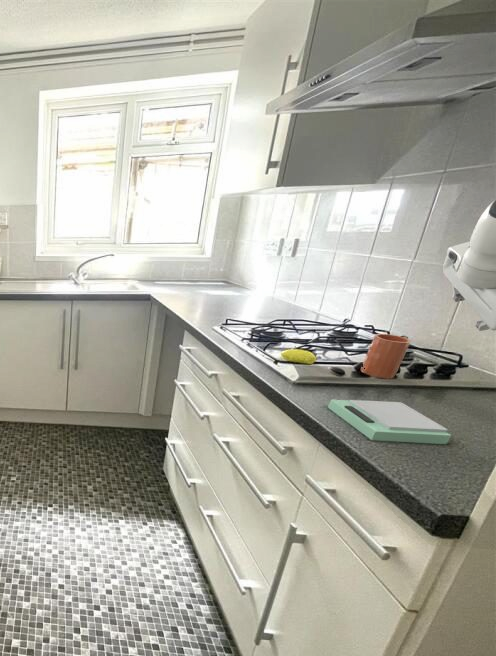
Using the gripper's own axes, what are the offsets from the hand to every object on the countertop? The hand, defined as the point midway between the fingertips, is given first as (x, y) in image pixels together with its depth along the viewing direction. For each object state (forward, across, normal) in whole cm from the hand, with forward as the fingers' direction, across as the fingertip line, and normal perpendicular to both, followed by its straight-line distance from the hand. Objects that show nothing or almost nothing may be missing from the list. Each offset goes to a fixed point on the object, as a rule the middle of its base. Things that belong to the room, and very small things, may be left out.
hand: (469, 313), depth 95 cm
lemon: (+7, 0, +33) cm, 34 cm away
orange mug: (+12, -5, +17) cm, 21 cm away
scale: (-7, -30, +27) cm, 41 cm away
